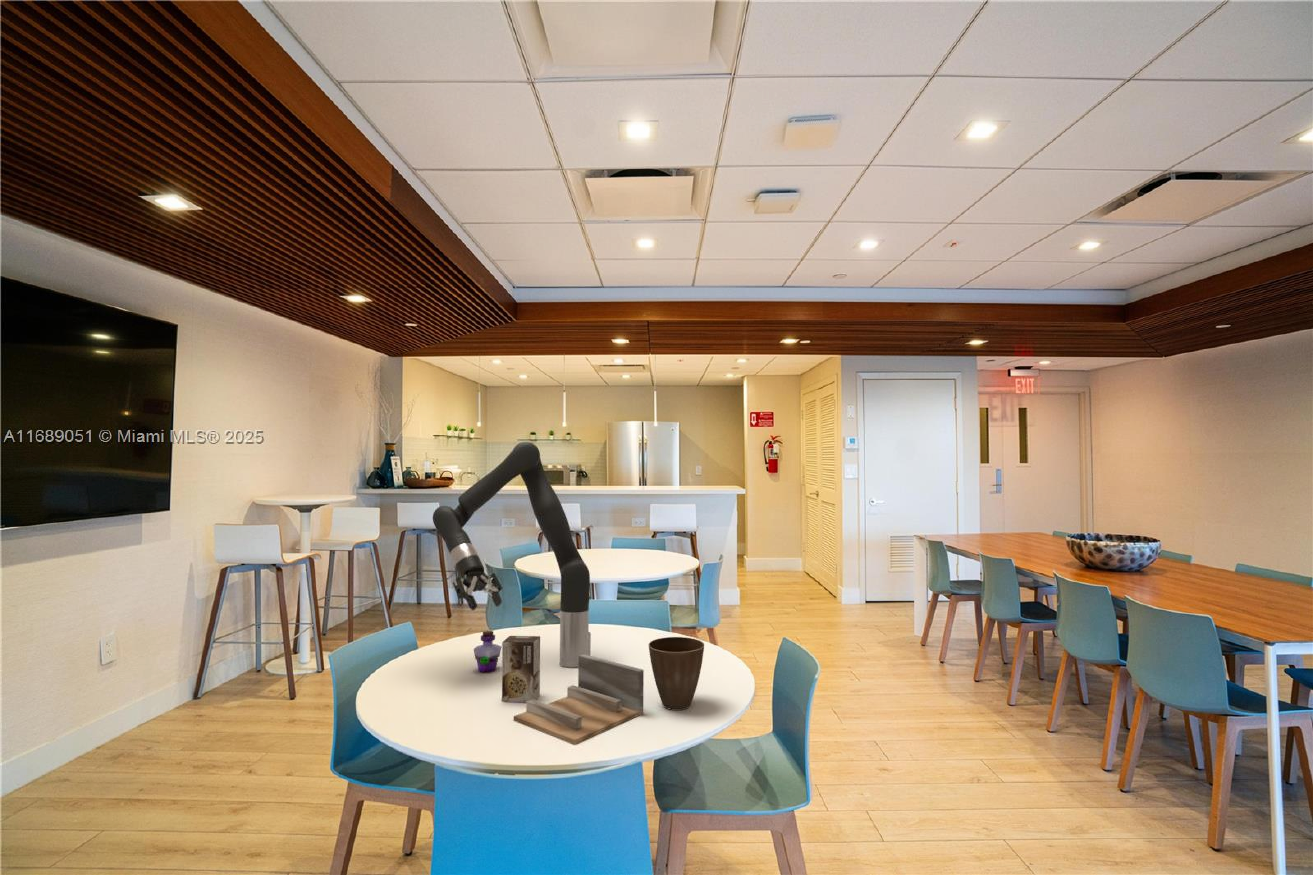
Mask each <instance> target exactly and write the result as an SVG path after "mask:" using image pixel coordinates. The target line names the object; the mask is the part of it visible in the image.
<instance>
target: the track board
mask: <svg viewBox="0 0 1313 875" xmlns="http://www.w3.org/2000/svg"><path fill="white" fill-rule="evenodd" d="M577 668H578V670H577V673H578V676H577V679H578V681H577V683H578V684H577V686H576V685H574V684H572V685H569V686H567V694H566V695H567V696H565V697H562V698H560V699H557V700H554V701H552V702H548V703H545V702H542V701H539V700H537V699H536V700H533V699H532V700H529V701H527V702H526V704H525V705H526V707H525V708H526V711H523V712H521V713H519V714H515V715H513V722H516V723H520V724H521V725H524V726H527V727H529V728H531V729H535V730H537V731H539V732H542V733H545V734H547V735H549V736H552V737H554V738H557V739H559V740H562V741H564V742H566V743H569V744H572V745H577V744H579V743H581V742H584V741H586V740H588V739H590V738H593V737H594V736H597V735H599V734H601V733H604V732H606V731H608V730H610V729H612V728H615V727H616V726H619V725H621V724H624V723H626V722H628V721H630V720H632V719H634V718H637V717H639V716H641V715H644V669H642V668H639V667H635V666H630V665H628V664H624V663H619V662H616V661H612V660H608V659H605V658H604V659H603V658H599V657H596V656H593V655H592V656H591V655H590V656H589V655H585V654H583V655H579V663H578V667H577ZM640 714H641V715H640ZM638 715H639V716H638ZM636 716H637V717H636ZM629 719H630V720H629Z"/></svg>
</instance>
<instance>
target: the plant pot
mask: <svg viewBox="0 0 1313 875" xmlns="http://www.w3.org/2000/svg"><path fill="white" fill-rule="evenodd" d="M648 650H649V658H650V665H651V668H652V673H653V674H652V675H653V678H654V682H655V685H656V688H657V692H658V695H659V698H660V701H661V704H662V706H663V705H664V706H665V707H666V708H665V707H664V706H663V707H664V708H665V709H667V708H670V709H669V710H671V709H683V710H685V709H684V708H687V707H689V706H690V707H691V706H692V702H693V699H694V697H695V694H696V690H697V687H698V684H699V679H700V675H701V669H702V664H703V658H704V651H705V643H704V642H703V641H702V640H699V639H697V638H696V639H695V638H691V637H683V636H671V637H670V636H669V637H668V636H666V637H660V638H656V639H653V640H652V641H650V642H649V643H648ZM690 707H689V708H690ZM687 709H688V708H687Z"/></svg>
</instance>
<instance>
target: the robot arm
mask: <svg viewBox="0 0 1313 875" xmlns="http://www.w3.org/2000/svg"><path fill="white" fill-rule="evenodd" d="M518 476H521V478H522V480H523V483H524V484H525V487H526V490H527V493H528V497H529V501H530V505H531V507H532V511H533V513H534V516H535V518H536V521H537V524H538V526H539V528H540V530H541V532H542V534H543V536H544V538H545V539H546V541H547V543H548V544H549V546H550V548H551V549H552V551H553V554H554V556H555V559H556V562H557V566H558V569H559V573H560V605H559V606H560V608H559V610H560V611H559V614H560V615H559V665H560V666H562V667H564V668H578V663H579V655H583V654H585V655H589V656H591V642H592V641H591V640H592V639H591V638H592V637H591V636H592V635H591V634H592V633H591V632H590V631H589V629H590V628H589V626H590V625H589V623H590V622H589V621H590V620H589V616H590V615H589V610H590V609H589V607H590V591H591V590H590V586H591V583H590V582H591V576H590V574H591V573H590V570H589V568H588V565H587V564H586V563H585V561H584V559H583V558H582V556H581V554H580V552H579V551H578V548H577V546H576V544H575V542H574V539H573V535H572V531H571V527H570V524H569V520H568V518H567V516H566V515H567V514H566V512H565V510H564V508H563V506H562V503H561V501H560V499H559V497H558V495H557V493H556V491H555V490H554V488H553V487H552V485H551V483H550V482H549V480H548V477H547V475H546V473H545V470H544V467H543V462H542V459H541V453H540V449H539V448H538V446H537V445H536V444H534V443H532V442H531V441H530V442H529V441H523V442H519V443H518V444H516V445H515V446H514V447H513V448H512V450H511V452H509V454H508V455H507V456H506V458H505V459H503V461H501V463H500V464H498V465H497V466H496V467H495V468H493V470H491V471H490V472H489V473H488V474H486V475H485V476H483V477H482V478H481V479H479V480H478V481H477V482H475V483H474V484H473V485H472V486H471V485H470V486H471V487H469V488H467V489H466V490H465V491H464V492H463V493H461V495H459V496H458V498H457V500H458V505H457V507H455V509H454V508H452V507H451V506H448V505H441V506H439V507H437V508H436V509H435V510H434V512H433V514H432V523H433V526H434V527H435V529H436V531H437V532H438V534H439V535H440V536H441V538H442V540H443V541H444V544H445V545H446V548H447V551H448V553H449V555H450V558H451V562H452V563H453V566H454V568H455V570H456V573H457V577H456V578H455V579H454V580H453V582H452V585H453V587H454V590H455V592H456V596H457V598H458V599H460V600H461V599H463V600H465V601H466V603H467V606H468V608H469V609H471V611H475V610H476V609H477V608H478V602H476V601H477V600H476V599H475V596H474V595H473V592H477V591H478V592H484V593H486V594H488V595H490V596H491V599H492V601H493V603H494V606H495V607H500V605H501V604H502V602H503V601H502V598H501V595H500V591H502V589H503V586H502V584H501V582H500V581H499V579H498V577H497V575H496V574H495V572H493V573H491V574H490V575H487V574H486V572H485V567H484V564H483V562H482V560H481V558H480V555H479V554H478V552H477V550H476V548H475V546H474V545H473V543H472V541H471V539H470V537H469V535H468V534H467V532H466V531H465V530H464V529H463V528H464V527H465V525H466V524H467V523H468V521H470V519H471V518H472V516H473V515H474V513H475V512H477V510H479V509H480V508H482V507H483V506H484V505H485V504H486V503H488V502H489V501H490V500H491V499H492V498H493V497H494V496H496V495H497V494H498V493H499V492H500V491H501V490H502V489H503V488H504V487H506V485H507V484H508V483H510V482H511V481H512V480H514V479H516V477H518ZM464 586H465V587H466V588H465V587H464Z"/></svg>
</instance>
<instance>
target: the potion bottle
mask: <svg viewBox="0 0 1313 875" xmlns="http://www.w3.org/2000/svg"><path fill="white" fill-rule="evenodd" d="M495 640H496V634H494V631H493V630H484V631H482V635H480V641H481V642H482V644H480V645H476V647H474V648H473V653H474V659H475V660H476V664H477V669H478V672H479V673H481V674H482V673H483V674H489V673H494V672H496V671H497V666H498V662H499V661H498V660H499V657H500V656H501V652H502V645H498V644H496V643H493V642H494V641H495Z"/></svg>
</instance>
